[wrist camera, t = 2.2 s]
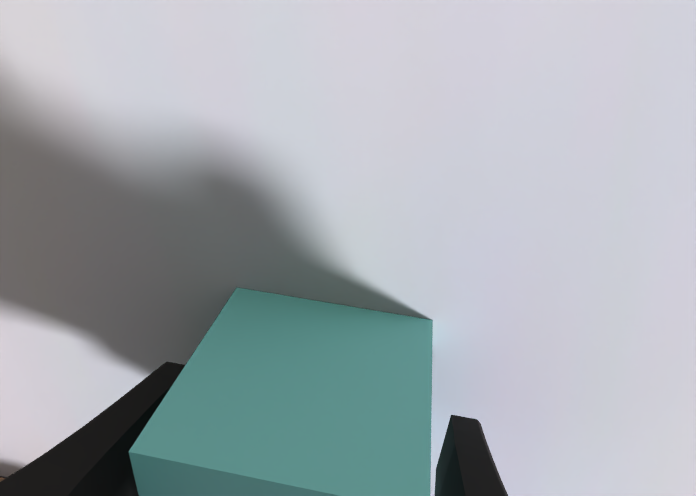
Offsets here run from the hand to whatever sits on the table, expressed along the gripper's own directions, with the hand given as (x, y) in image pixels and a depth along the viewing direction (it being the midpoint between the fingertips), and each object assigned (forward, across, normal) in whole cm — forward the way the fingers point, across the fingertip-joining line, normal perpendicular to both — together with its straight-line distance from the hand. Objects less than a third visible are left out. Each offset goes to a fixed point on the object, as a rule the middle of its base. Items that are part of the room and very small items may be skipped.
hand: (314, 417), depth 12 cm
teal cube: (+2, 0, 0) cm, 2 cm away
